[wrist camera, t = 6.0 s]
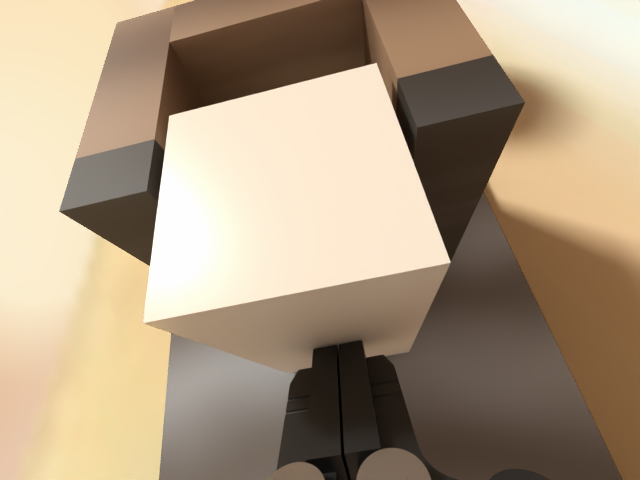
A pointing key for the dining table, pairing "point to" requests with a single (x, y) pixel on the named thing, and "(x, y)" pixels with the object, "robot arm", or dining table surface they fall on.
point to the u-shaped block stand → (443, 197)
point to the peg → (294, 225)
